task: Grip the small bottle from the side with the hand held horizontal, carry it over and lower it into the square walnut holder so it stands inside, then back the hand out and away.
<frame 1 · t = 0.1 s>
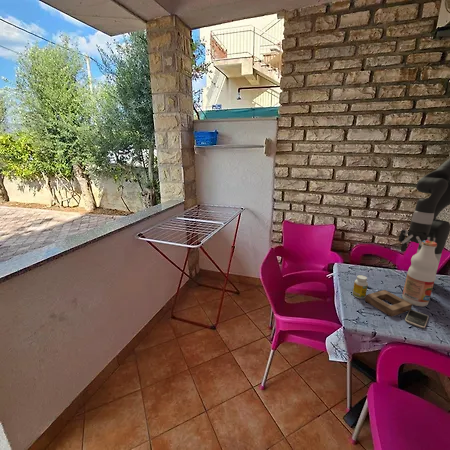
hand: (412, 254, 115), 17 cm above the table, tool pointing down, fingers open, 8 cm apart
fruit juice: (414, 301, 108), on the table
cell phone: (416, 320, 96), on the table
supplement bottle: (358, 296, 112), on the table
walnut holder: (387, 305, 105), on the table
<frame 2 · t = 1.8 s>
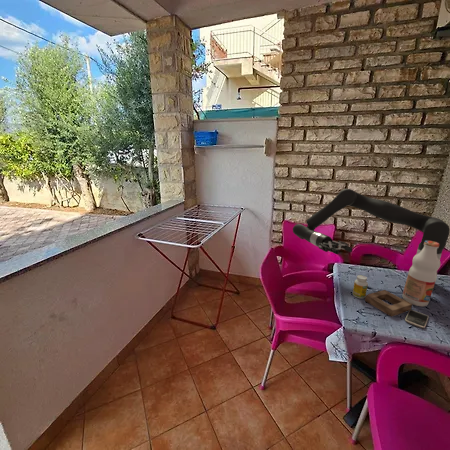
hand: (344, 251, 117), 18 cm above the table, tool horizontal, fingers open, 8 cm apart
nothing on the table moved.
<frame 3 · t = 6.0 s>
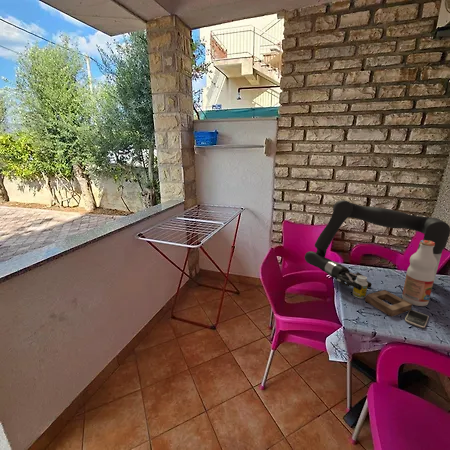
hand: (365, 286, 108), 6 cm above the table, tool horizontal, fingers closed on supplement bottle, 5 cm apart
supplement bottle: (358, 296, 112), on the table, touching gripper
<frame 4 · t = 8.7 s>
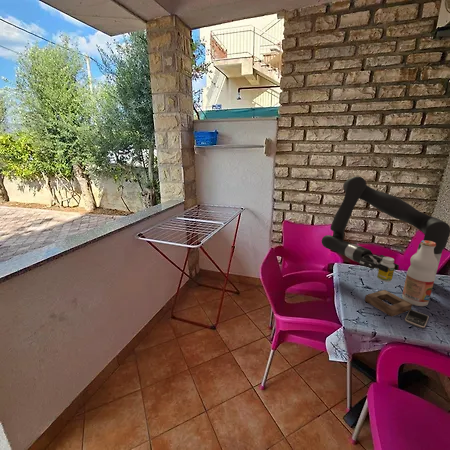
hand: (392, 268, 100), 18 cm above the table, tool horizontal, fingers closed on supplement bottle, 5 cm apart
supplement bottle: (384, 279, 104), point 11 cm above the table, touching gripper
everything else where it was.
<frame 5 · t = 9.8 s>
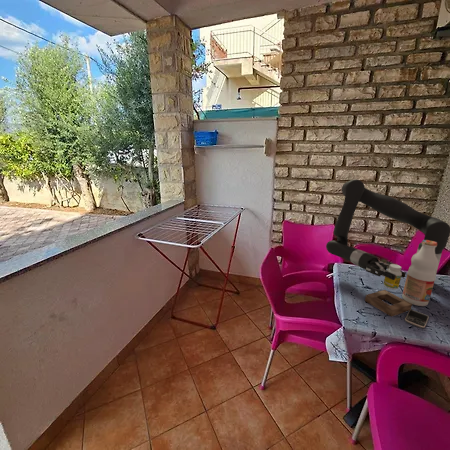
hand: (399, 276, 98), 15 cm above the table, tool horizontal, fingers closed on supplement bottle, 5 cm apart
supplement bottle: (390, 286, 102), point 9 cm above the table, touching gripper
when the fingers open (9 cm above the table, at t = 11.5 s): supplement bottle drops 3 cm, resting in walnut holder.
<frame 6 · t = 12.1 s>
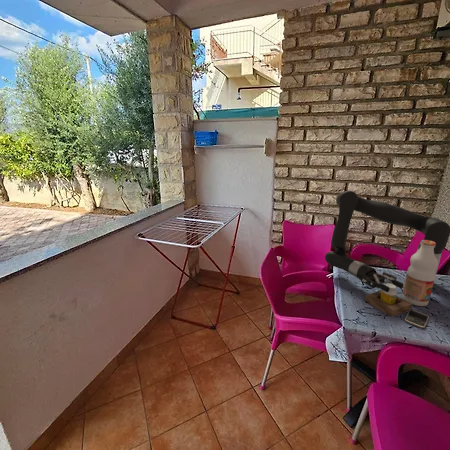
hand: (395, 288, 100), 10 cm above the table, tool horizontal, fingers open, 8 cm apart
supplement bottle: (386, 305, 105), resting in walnut holder
everything else where it was.
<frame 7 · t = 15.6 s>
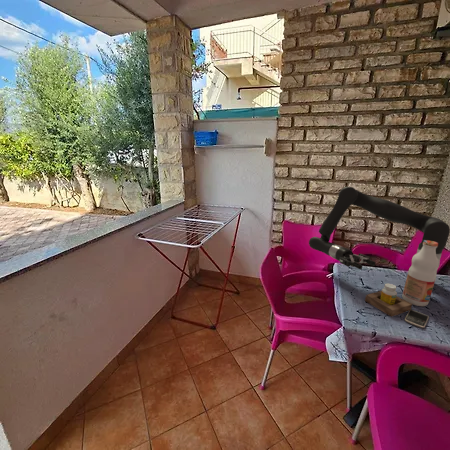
hand: (368, 265, 112), 13 cm above the table, tool horizontal, fingers open, 8 cm apart
nothing on the table moved.
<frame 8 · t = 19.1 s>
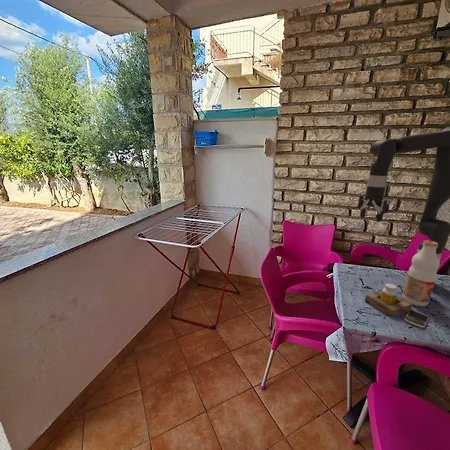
hand: (370, 219, 116), 33 cm above the table, tool pointing down, fingers open, 8 cm apart
nothing on the table moved.
at the end: supplement bottle 0.2 cm off-centre on the walnut holder, point 0.0 cm above the walnut holder's base; supplement bottle tilted 0°; the gripper is holding nothing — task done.
